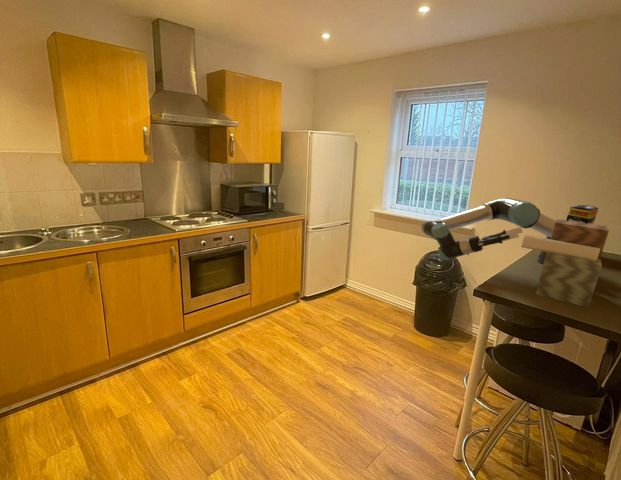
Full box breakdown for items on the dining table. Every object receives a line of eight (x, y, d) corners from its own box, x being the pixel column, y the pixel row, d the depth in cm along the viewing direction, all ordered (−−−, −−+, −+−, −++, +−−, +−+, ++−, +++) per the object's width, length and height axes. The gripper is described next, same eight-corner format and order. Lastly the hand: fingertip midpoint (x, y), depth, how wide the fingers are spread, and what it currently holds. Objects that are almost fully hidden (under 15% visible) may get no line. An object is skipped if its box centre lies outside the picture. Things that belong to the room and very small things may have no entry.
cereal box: (575, 260, 204) (592, 208, 195) (553, 254, 212) (569, 205, 203) (583, 254, 221) (600, 206, 212) (563, 249, 229) (578, 203, 220)
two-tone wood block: (535, 293, 144) (553, 226, 136) (540, 278, 164) (556, 219, 156) (588, 307, 133) (611, 235, 126) (586, 289, 153) (606, 226, 146)
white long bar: (521, 247, 148) (524, 236, 147) (522, 245, 151) (525, 234, 150) (596, 261, 133) (600, 250, 132) (595, 259, 136) (599, 248, 135)
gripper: (479, 247, 172) (526, 235, 158) (467, 257, 152) (519, 244, 139) (474, 234, 172) (520, 220, 159) (461, 242, 153) (512, 227, 140)
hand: (519, 231), depth 149 cm, fingers open, 13 cm apart
